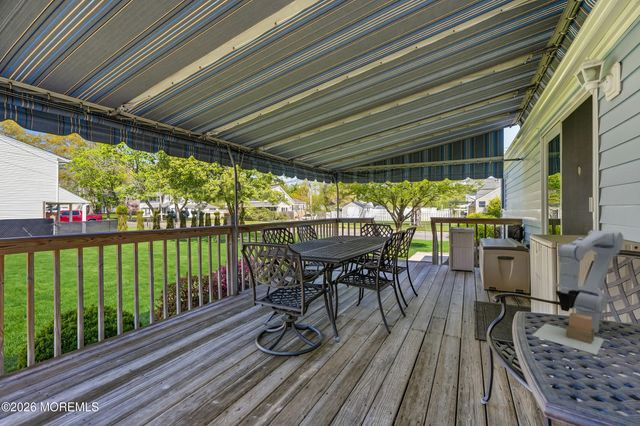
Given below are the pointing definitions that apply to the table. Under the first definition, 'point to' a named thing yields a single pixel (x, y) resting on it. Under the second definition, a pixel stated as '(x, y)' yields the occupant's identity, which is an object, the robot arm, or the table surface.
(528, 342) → the table surface
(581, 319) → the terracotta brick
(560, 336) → the baseplate
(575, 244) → the robot arm
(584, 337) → the walnut block
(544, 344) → the table surface
